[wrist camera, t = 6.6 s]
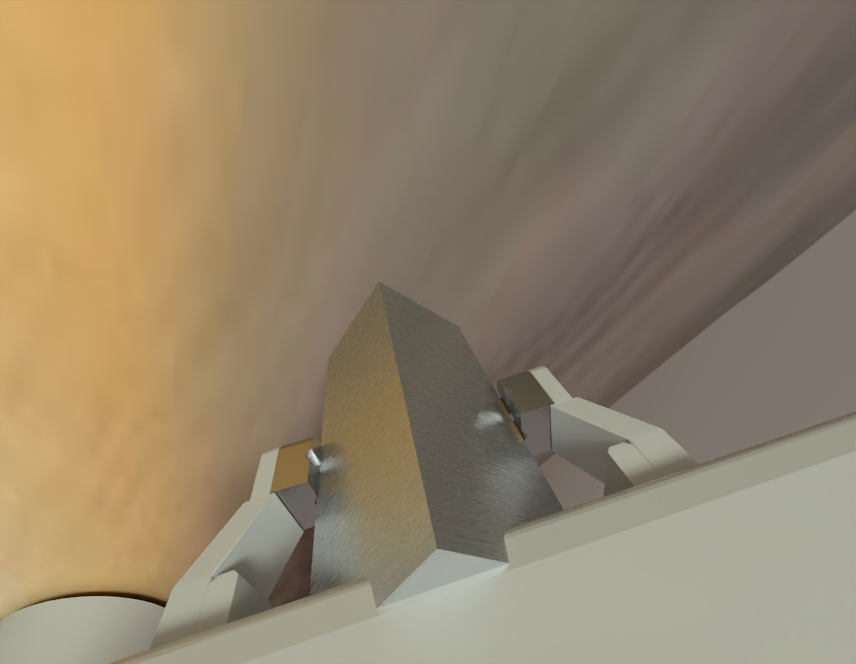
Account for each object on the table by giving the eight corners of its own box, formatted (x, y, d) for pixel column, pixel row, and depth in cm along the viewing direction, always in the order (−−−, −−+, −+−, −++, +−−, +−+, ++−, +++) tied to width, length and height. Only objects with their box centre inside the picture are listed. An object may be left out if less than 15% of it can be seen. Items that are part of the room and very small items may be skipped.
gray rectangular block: (407, 392, 16) (474, 680, 8) (327, 359, 15) (302, 682, 6) (458, 326, 15) (606, 582, 7) (378, 281, 13) (436, 548, 5)
